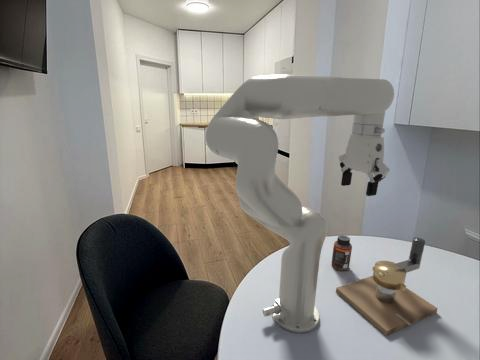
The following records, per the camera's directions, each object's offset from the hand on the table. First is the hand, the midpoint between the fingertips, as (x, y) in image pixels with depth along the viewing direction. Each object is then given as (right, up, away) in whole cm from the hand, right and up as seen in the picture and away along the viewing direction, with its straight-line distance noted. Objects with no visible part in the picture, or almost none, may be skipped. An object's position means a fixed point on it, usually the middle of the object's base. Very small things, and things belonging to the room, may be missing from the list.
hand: (357, 190), depth 81 cm
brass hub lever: (+12, -26, +1) cm, 28 cm away
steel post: (+8, -32, +1) cm, 33 cm away
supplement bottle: (+1, -28, +18) cm, 33 cm away
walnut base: (+8, -33, +1) cm, 34 cm away
